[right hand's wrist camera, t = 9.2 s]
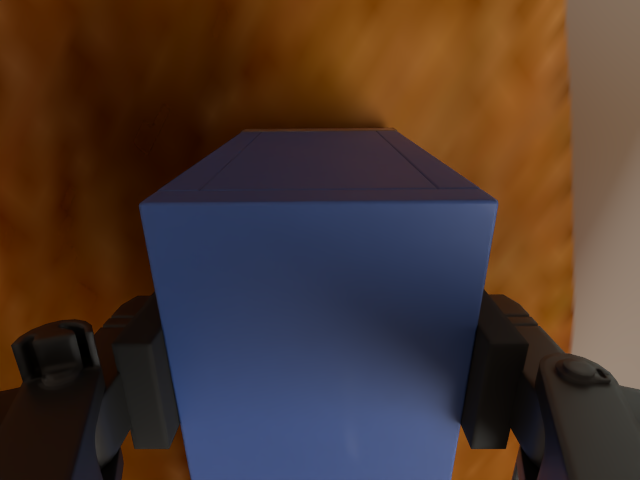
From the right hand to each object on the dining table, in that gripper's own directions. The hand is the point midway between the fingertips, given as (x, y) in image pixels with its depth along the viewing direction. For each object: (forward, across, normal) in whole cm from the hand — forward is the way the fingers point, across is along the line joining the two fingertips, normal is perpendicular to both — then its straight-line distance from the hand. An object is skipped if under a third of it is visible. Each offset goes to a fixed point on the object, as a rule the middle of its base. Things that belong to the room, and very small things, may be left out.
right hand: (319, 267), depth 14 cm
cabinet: (+5, 0, -4) cm, 7 cm away
